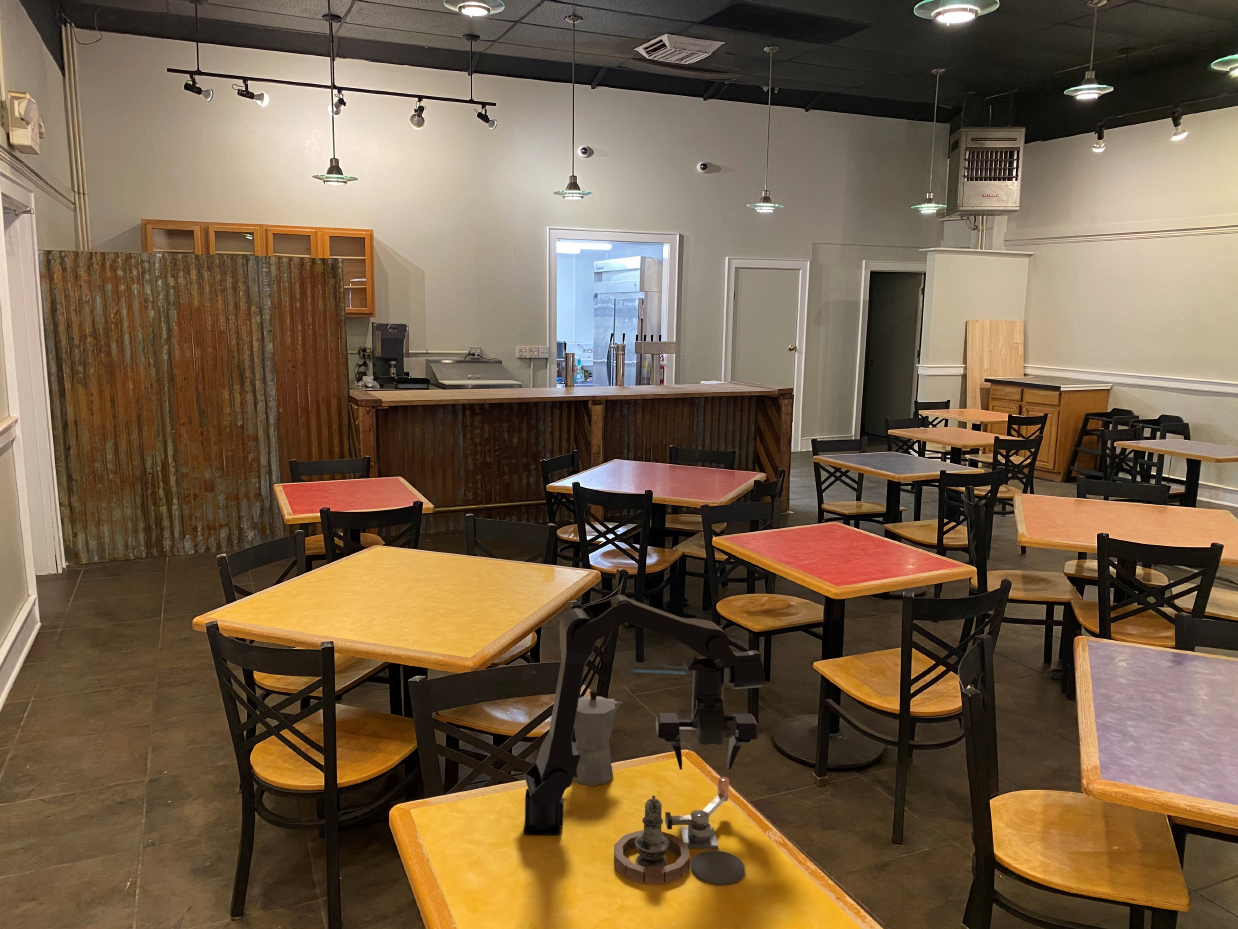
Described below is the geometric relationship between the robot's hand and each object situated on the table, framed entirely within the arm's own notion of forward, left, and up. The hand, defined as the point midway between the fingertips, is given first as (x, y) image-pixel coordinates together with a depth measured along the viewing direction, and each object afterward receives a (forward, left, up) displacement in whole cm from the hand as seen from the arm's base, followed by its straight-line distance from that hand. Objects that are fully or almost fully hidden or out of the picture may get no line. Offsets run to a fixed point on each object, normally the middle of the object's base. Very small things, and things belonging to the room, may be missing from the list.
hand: (704, 769), depth 164 cm
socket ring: (-11, -18, -8) cm, 22 cm away
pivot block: (-2, -11, -8) cm, 13 cm away
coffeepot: (-22, +12, -8) cm, 27 cm away
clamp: (-2, -7, -5) cm, 9 cm away
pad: (0, -20, -8) cm, 21 cm away
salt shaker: (-11, -18, -8) cm, 22 cm away
